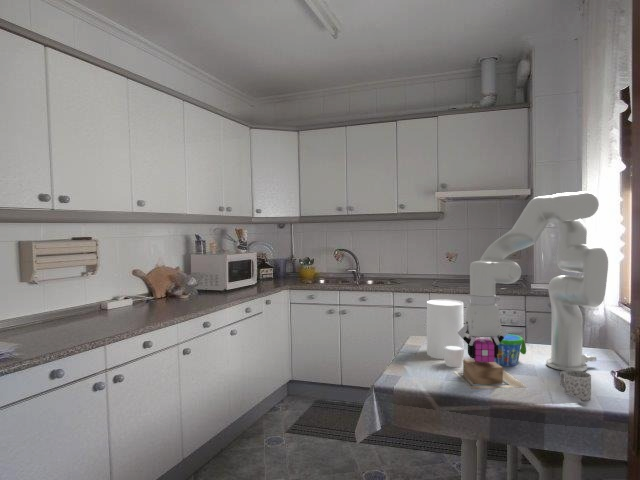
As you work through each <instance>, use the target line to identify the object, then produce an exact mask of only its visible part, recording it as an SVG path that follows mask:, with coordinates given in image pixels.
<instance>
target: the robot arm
mask: <svg viewBox="0 0 640 480" xmlns="http://www.w3.org/2000/svg"><path fill="white" fill-rule="evenodd" d="M599 206H600V205H599V199H598V197H597V196H596V194H594V192H593V193H592V192H591V191H577V192H562V193H561V192H560V193H556V194H555V193H554V194H552V195H541V196H537V197H533V198H532V199H531V200H530V201H529V202H528V203H527V205H526V206H525V207H524V209H523V211H522V212H521V214H520V215H519V217H518V219H517V220H516V222H515V223H514V225H513V227H512V228H511V229H510V230H508V231H507V232H505V233H504V234H503V235H502V236H500V237H498V239H496V240H494V241H493V242H492V243H491V244H490V245H488V247H487V248H486V250H485V251H484V253H483V254H482V256H481V257H480V258H479V260H475V261H472V262H470V264H469V265H470V266H469V291H470V292H469V303H467V304H466V309H465V316H464V325H463V328H462V329H461V330H460V331H459V332H458V335H459V336H460V337H461V338H462V339H463V342H465V343H466V344H467V355H468V356H469V357H470V358H471V359H473V358H475V346H474V345H473V344H474V341H475V339H477V338H480V337H491V339H492V342H493V343H494V357H495V358H497V354H498V345H499V344H500V342H501V341H502V340H503V339H504V337H505V336H506V335H507V334H509V332H508V330H507V329H506V328H504V326H502V325H501V317H500V311H499V306H498V304H497V301H498V302H499V301H500V299H501V297H500V296H498V295H497V294H496V284H504V285H505V284H506V285H510V284H514V283H515V282H518V280H520V278H521V276H522V269H521V267H520V264H518V263H517V262H516V261H513V260H510V259H505V258H507V257H508V256H510V255H511V254H513V253H515V252H518V251H521V250H524V249H527V248H528V247H531V246H533V245H535V244H536V243H537V241H538V240H539V238H540V237H541V235H542V233H543V231H544V230H545V229H546V227H547V225H548V224H549V223H551V222H555V224H556V226H557V229H558V241H557V251H556V265H557V267H558V269H560V270H562V271H564V272H568V273H569V272H570V273H578V274H579V273H580V274H582V275H583V276H574V275H568V274H567V275H564V274H563V275H562V274H561V275H557V276H555V277H552V278H551V280H550V281H549V283H548V295H549V299H550V307H551V308H550V311H551V323H550V324H551V337H550V338H551V339H550V340H551V341H550V342H551V345H550V346H551V348H550V349H551V353H550V355H551V356H550V357H551V358H548V359H546V360H545V361H546V362H545V364H546V366H548V367H550V368H552V369H555V370H558V371H568V370H576V371H583V372H586V371H588V364H587V363H588V362H591V363H592V362H597V357H596V355H589V356H588V354H584V353H583V337H584V336H583V335H584V334H583V324H584V321H583V320H584V319H583V314H582V311H581V309H580V307H586V308H597V307H599V306H601V305H602V304H603V302H604V299H605V296H606V291H607V290H606V289H607V280H608V271H609V256H608V254H607V252H606V250H605V249H603V247H601V246H599V245H591V244H587V236H588V235H587V234H588V233H587V232H588V231H587V230H588V229H587V227H586V225H585V223H584V221H583V219H588V218H591V217H593V216H595V214H596V213H597V211H598V210H599ZM466 335H468V336H466Z"/></svg>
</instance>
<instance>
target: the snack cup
mask: <svg viewBox="0 0 640 480" xmlns="http://www.w3.org/2000/svg"><path fill="white" fill-rule="evenodd" d="M490 340H491V341H492V339H491V337H490ZM526 353H527V346H526V342H525V340H524V338H523V337H522V336H520V335H517V334H512V333H511V334H510V333H508V334H507V335H506V336H505V337H504V339H503V340H502V341H501V342H500V344H499V345H498V354H497V358H495V357H494V362H496V363H497V364H499V365H500V366H505V367H515V366H517V365H518V364H519V361H520V360H519V358H520V354H521V355H526Z"/></svg>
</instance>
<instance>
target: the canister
mask: <svg viewBox="0 0 640 480" xmlns="http://www.w3.org/2000/svg"><path fill="white" fill-rule="evenodd" d="M463 327H464V302H463V301H461V300H454V299H430V300H427V301H426V355H428V356H429V357H430V358H432V359H433V358H434V359H439V360H445V356H444V347H445V346H449V345H454V346H461V347H463V348H464V340H463V339H462V338H461V337H460V336H459V335H458V332H459V331H460V330H461V329H462V328H463Z"/></svg>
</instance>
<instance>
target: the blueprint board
mask: <svg viewBox="0 0 640 480" xmlns="http://www.w3.org/2000/svg"><path fill="white" fill-rule="evenodd" d="M453 373H454V374H456V376H458V378H460V379H461V380H462V381H463V382H464V383H465V384H466V385H467V386H468V387H469V388H470V389H473V390H474V389H475V390H477V389H480V390H481V389H512V388H513V389H514V388H515V389H517V388H528V386H527V385H525V384H524V383H523V382H521V381H520V380H519V379H517V378H515V377H514V376H513V375H511V374H510V373H509V372H508V371H506V370H505V369H503V384H473V383H472V382H471V381H470V380H469V379H467V378H466V377H465V376H464V375H463V370H454V371H453Z"/></svg>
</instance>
